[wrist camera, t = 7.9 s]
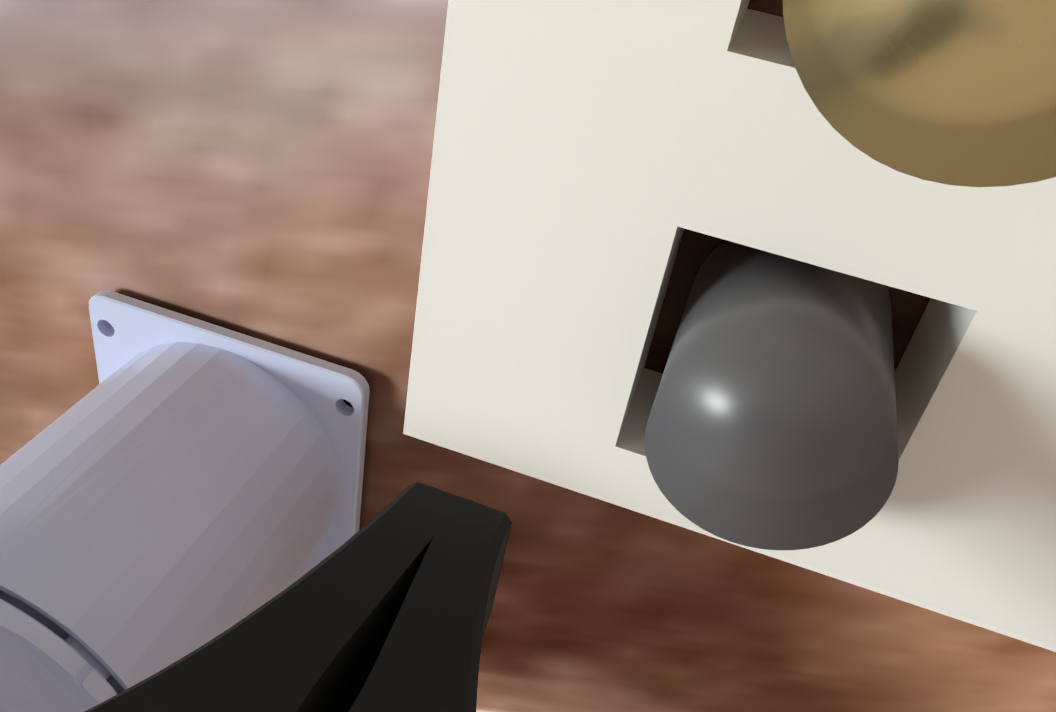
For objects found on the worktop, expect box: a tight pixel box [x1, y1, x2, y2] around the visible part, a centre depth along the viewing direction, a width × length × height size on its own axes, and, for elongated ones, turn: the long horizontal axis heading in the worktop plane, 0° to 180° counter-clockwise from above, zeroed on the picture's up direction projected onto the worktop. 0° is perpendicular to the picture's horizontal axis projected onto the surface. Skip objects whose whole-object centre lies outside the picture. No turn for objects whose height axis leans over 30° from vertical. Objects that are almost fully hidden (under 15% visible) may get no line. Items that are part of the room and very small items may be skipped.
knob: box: [645, 240, 899, 550], centre depth 17 cm, size 4×4×5 cm
